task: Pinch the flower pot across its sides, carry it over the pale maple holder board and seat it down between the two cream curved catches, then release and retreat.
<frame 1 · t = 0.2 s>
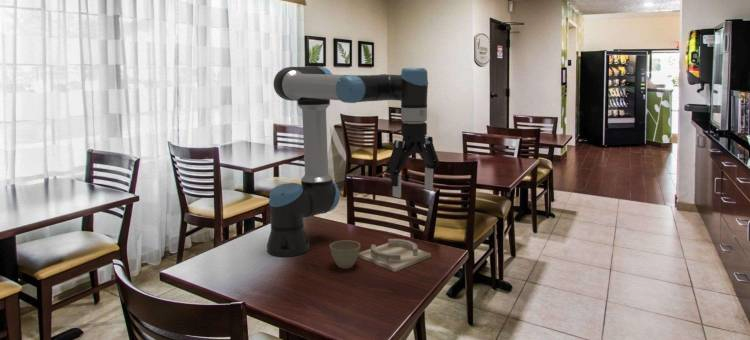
hand: (413, 193, 148), 27 cm above the table, fingers open, 13 cm apart
flower pot: (345, 266, 164), on the table
holder: (394, 256, 171), on the table
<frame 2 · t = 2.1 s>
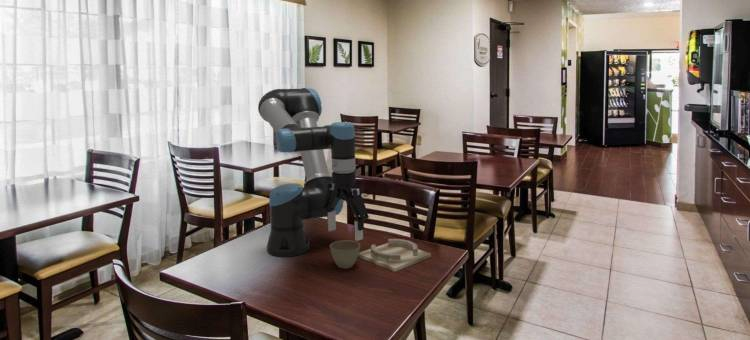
hand: (345, 234, 161), 11 cm above the table, fingers open, 13 cm apart
nothing on the table moved.
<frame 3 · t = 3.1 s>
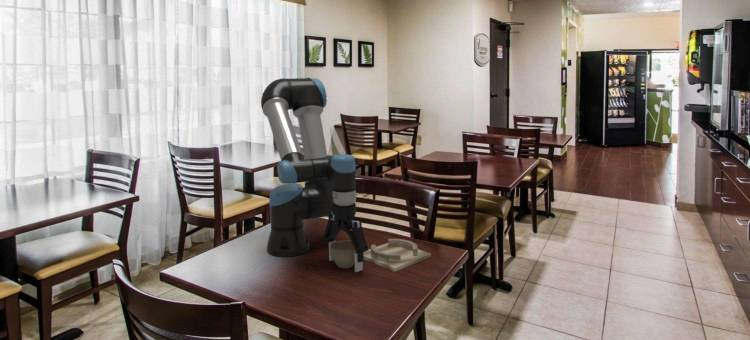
hand: (345, 265, 164), 0 cm above the table, fingers open, 12 cm apart
nothing on the table moved.
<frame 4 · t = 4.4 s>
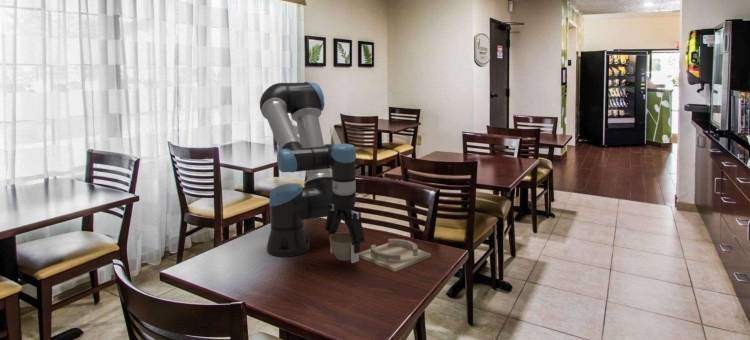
hand: (344, 256, 164), 3 cm above the table, fingers closed on flower pot, 10 cm apart
flower pot: (344, 258, 164), point 2 cm above the table, touching gripper
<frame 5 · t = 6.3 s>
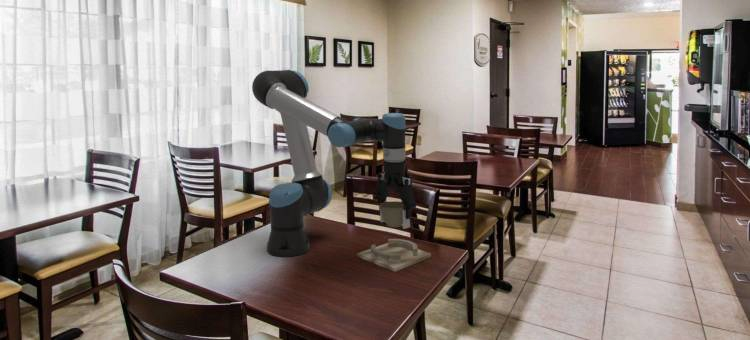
hand: (394, 224, 169), 12 cm above the table, fingers closed on flower pot, 10 cm apart
flower pot: (394, 225, 169), point 11 cm above the table, touching gripper
when the fingers open (2 cm above the table, at t = 8.0 s): flower pot stays where it is, resting on holder.
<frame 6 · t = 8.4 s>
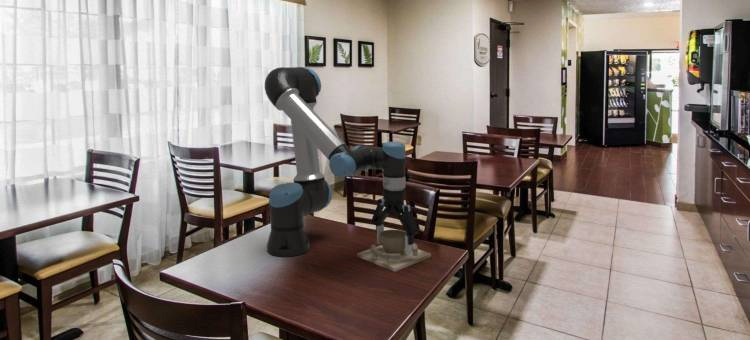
hand: (394, 248, 171), 3 cm above the table, fingers open, 13 cm apart
flower pot: (393, 254, 171), point 1 cm above the table, touching holder
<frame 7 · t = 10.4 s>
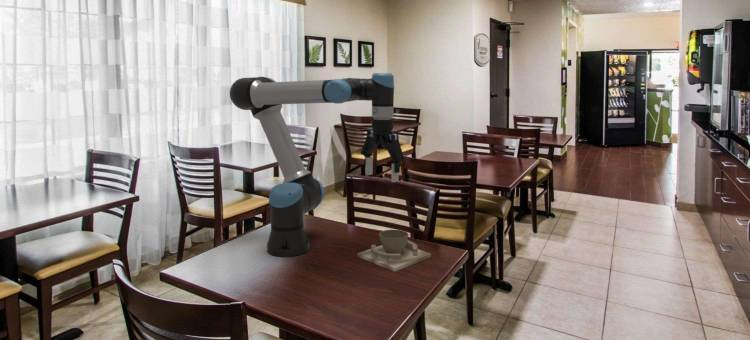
hand: (381, 178, 176), 26 cm above the table, fingers open, 13 cm apart
nothing on the table moved.
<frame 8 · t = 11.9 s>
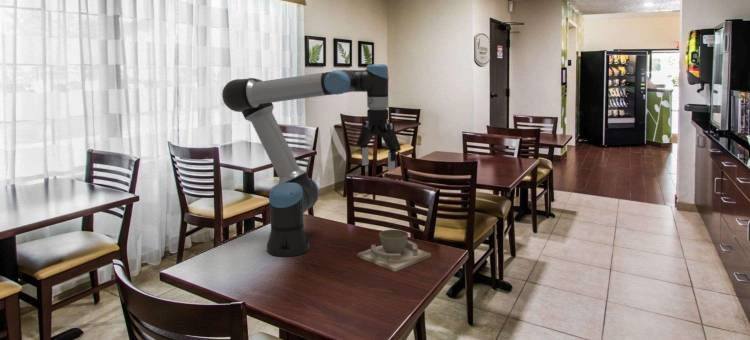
hand: (378, 167, 179), 29 cm above the table, fingers open, 13 cm apart
nothing on the table moved.
at the end: flower pot 0.1 cm from the holder (horizontally); flower pot tilted 0°; flower pot point 1.0 cm above the table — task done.
